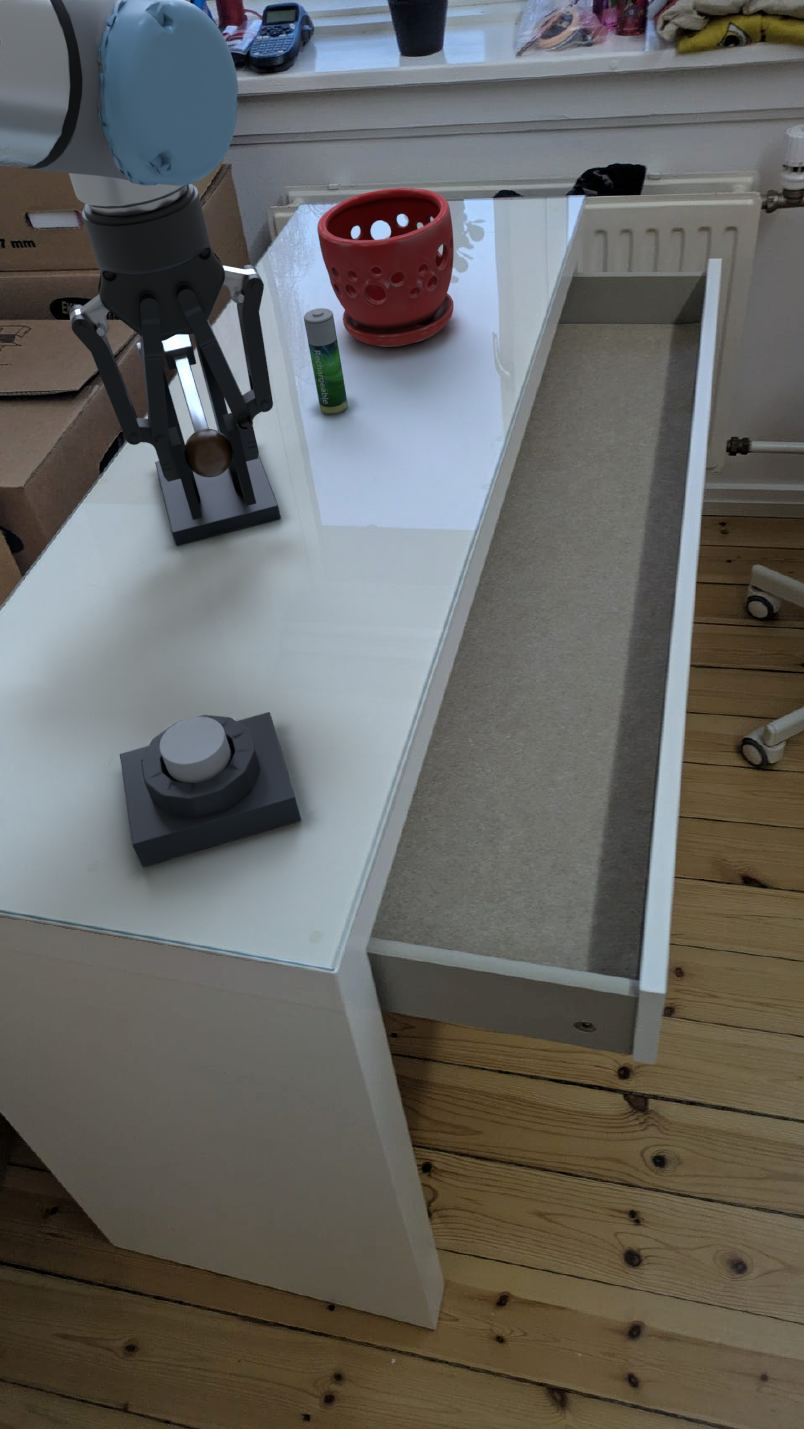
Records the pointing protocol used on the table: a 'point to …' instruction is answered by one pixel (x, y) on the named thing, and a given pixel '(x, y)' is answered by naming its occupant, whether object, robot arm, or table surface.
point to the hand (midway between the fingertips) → (221, 502)
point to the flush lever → (197, 414)
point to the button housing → (208, 794)
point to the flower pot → (390, 265)
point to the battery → (326, 360)
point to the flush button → (195, 749)
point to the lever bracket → (214, 482)
